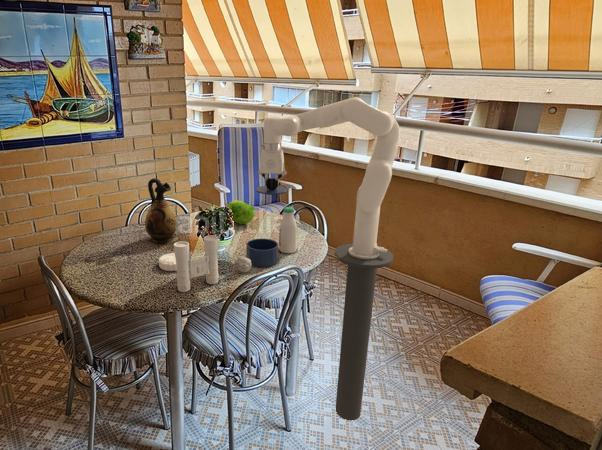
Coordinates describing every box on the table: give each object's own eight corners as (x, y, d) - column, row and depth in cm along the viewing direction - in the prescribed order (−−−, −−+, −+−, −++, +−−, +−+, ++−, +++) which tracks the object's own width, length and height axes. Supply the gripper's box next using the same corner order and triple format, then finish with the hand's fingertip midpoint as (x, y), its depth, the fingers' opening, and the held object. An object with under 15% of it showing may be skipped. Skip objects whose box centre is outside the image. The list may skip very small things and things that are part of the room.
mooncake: (153, 266, 171) (152, 258, 170) (174, 256, 179) (173, 249, 178) (173, 274, 164) (172, 265, 162) (193, 263, 172) (193, 256, 171)
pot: (280, 256, 177) (281, 240, 175) (273, 269, 166) (273, 252, 163) (251, 252, 182) (251, 237, 179) (242, 264, 170) (242, 248, 168)
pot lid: (290, 188, 186) (291, 175, 184) (284, 196, 174) (284, 182, 172) (260, 187, 191) (260, 174, 189) (252, 194, 178) (252, 180, 176)
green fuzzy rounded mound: (240, 214, 234) (240, 195, 230) (260, 226, 214) (260, 205, 210) (220, 218, 229) (219, 198, 225) (238, 230, 209) (237, 208, 205)
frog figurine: (232, 271, 165) (231, 255, 162) (246, 267, 168) (246, 251, 166) (240, 277, 160) (240, 260, 157) (255, 272, 163) (255, 256, 161)
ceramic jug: (184, 237, 202) (180, 177, 192) (164, 247, 190) (159, 184, 180) (157, 231, 211) (153, 174, 201) (137, 241, 198) (131, 180, 188)
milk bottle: (299, 250, 184) (301, 207, 177) (289, 255, 178) (290, 211, 172) (285, 245, 189) (286, 204, 182) (275, 250, 184) (276, 208, 177)
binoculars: (180, 293, 148) (177, 248, 142) (174, 287, 153) (171, 243, 147) (221, 282, 156) (220, 238, 150) (215, 276, 160) (214, 234, 154)
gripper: (252, 147, 175) (252, 189, 181) (289, 148, 170) (288, 191, 176) (256, 145, 182) (256, 185, 188) (292, 146, 176) (291, 187, 182)
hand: (271, 188), depth 182 cm, fingers closed on pot lid, 2 cm apart
